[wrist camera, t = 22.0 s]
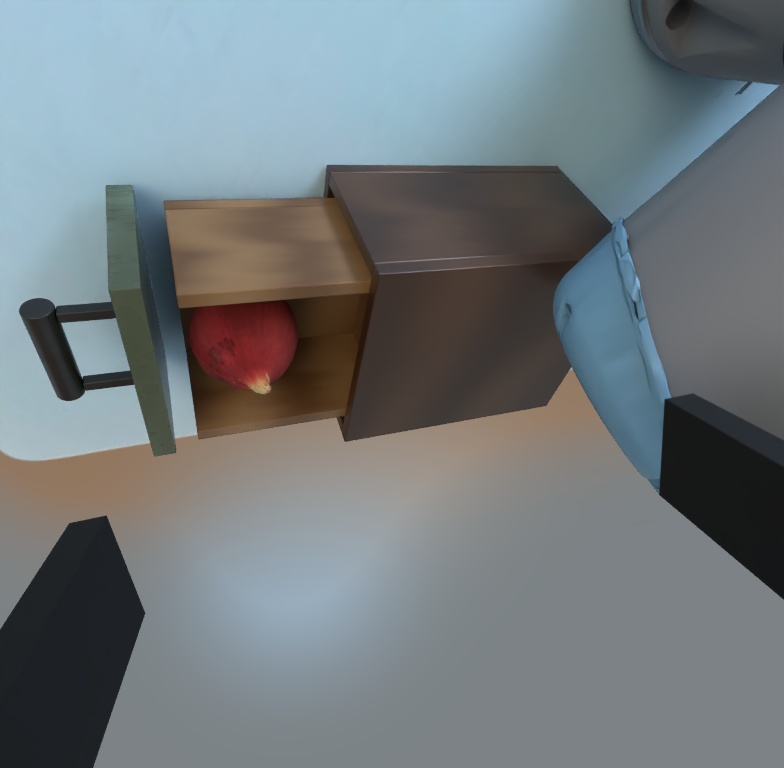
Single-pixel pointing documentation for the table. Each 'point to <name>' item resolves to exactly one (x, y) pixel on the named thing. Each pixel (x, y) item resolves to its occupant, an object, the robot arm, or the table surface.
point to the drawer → (222, 287)
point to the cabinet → (459, 288)
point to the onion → (244, 342)
